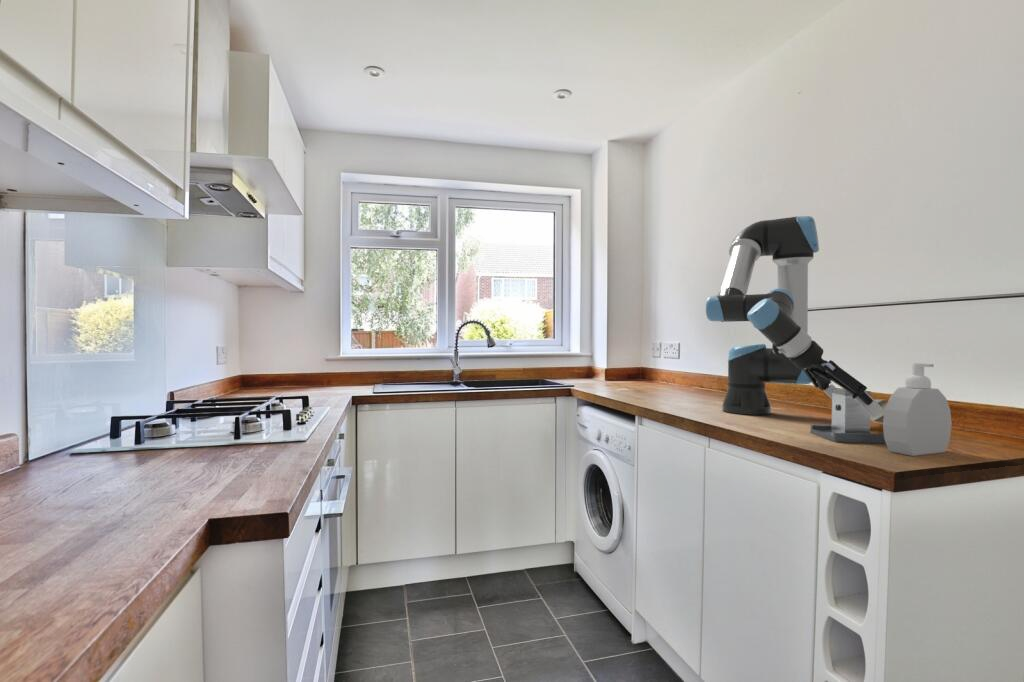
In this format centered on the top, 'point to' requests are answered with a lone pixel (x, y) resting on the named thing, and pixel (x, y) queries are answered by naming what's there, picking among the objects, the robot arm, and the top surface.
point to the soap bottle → (917, 417)
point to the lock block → (848, 413)
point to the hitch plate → (851, 434)
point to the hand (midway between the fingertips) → (861, 408)
